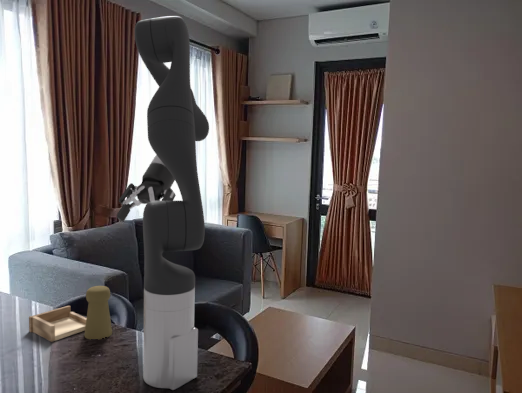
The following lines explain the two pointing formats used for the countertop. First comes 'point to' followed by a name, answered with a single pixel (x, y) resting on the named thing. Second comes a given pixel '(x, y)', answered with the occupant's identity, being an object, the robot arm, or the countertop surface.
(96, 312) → the cork
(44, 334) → the wooden open tray
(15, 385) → the countertop surface
